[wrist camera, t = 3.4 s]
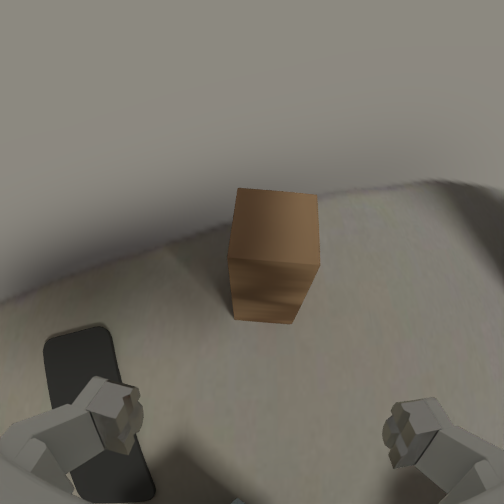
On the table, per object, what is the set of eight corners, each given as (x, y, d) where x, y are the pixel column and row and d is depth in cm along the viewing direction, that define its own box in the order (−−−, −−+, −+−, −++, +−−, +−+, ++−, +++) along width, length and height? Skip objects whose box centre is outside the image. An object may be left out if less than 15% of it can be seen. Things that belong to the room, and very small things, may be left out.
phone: (81, 503, 14) (41, 340, 20) (85, 501, 14) (46, 343, 21) (159, 499, 15) (107, 323, 22) (162, 496, 16) (111, 325, 22)
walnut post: (293, 273, 25) (317, 195, 16) (291, 324, 23) (320, 265, 14) (240, 268, 25) (237, 187, 17) (234, 319, 23) (227, 257, 14)
